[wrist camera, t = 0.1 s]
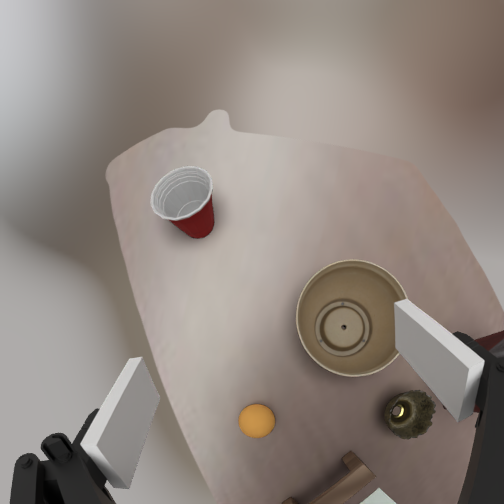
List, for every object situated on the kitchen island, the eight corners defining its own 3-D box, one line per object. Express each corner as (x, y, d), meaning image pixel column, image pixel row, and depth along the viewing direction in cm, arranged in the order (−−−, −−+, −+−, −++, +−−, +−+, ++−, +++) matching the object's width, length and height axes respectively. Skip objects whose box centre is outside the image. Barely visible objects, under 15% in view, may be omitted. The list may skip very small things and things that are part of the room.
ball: (282, 420, 44) (282, 425, 39) (256, 441, 43) (252, 448, 38) (260, 396, 46) (257, 398, 41) (234, 416, 45) (228, 420, 40)
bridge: (362, 461, 40) (376, 476, 31) (293, 513, 37) (293, 536, 29) (351, 450, 41) (363, 464, 32) (281, 503, 38) (279, 525, 30)
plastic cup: (203, 191, 63) (186, 153, 52) (238, 223, 59) (226, 186, 48) (162, 226, 61) (137, 193, 50) (194, 261, 57) (172, 232, 46)
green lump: (406, 435, 40) (425, 443, 33) (368, 426, 42) (382, 434, 35) (421, 394, 43) (442, 396, 35) (384, 384, 45) (401, 385, 37)
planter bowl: (363, 392, 45) (382, 395, 35) (276, 350, 49) (273, 342, 39) (402, 306, 49) (426, 288, 39) (321, 267, 54) (327, 240, 44)
